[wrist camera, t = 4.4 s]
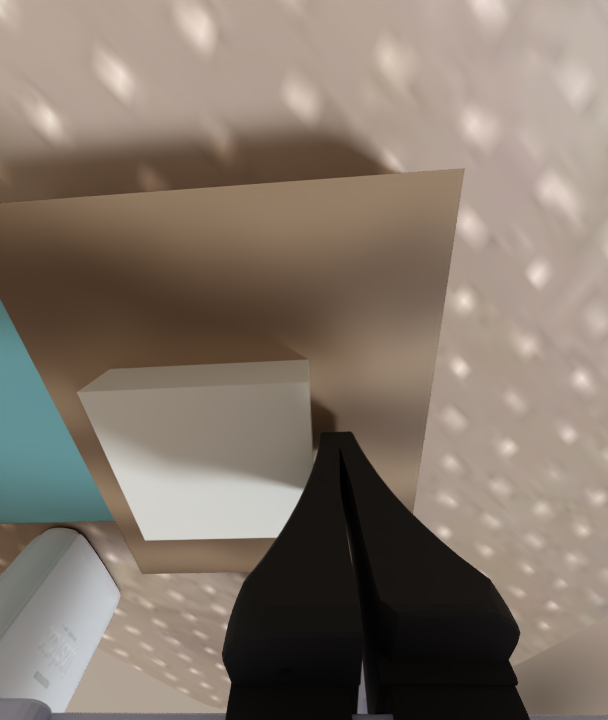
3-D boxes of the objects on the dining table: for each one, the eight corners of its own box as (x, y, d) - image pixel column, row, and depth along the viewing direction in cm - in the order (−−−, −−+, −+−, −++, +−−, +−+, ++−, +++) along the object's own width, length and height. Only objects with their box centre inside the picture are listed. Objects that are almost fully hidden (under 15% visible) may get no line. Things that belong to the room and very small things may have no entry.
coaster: (316, 501, 14) (317, 536, 13) (163, 506, 15) (145, 540, 13) (308, 359, 11) (308, 381, 9) (110, 368, 11) (76, 392, 10)
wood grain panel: (387, 508, 20) (404, 569, 17) (170, 514, 21) (142, 573, 17) (417, 186, 12) (464, 168, 8) (54, 212, 13) (-48, 206, 9)
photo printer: (130, 597, 26) (-6, 875, 15) (85, 597, 26) (-83, 873, 15) (87, 523, 22) (-150, 837, 11) (33, 524, 22) (-256, 835, 11)
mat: (164, 514, 21) (161, 519, 21) (-15, 519, 22) (-20, 524, 21) (44, 213, 13) (36, 213, 12) (-244, 234, 13) (-258, 234, 13)
